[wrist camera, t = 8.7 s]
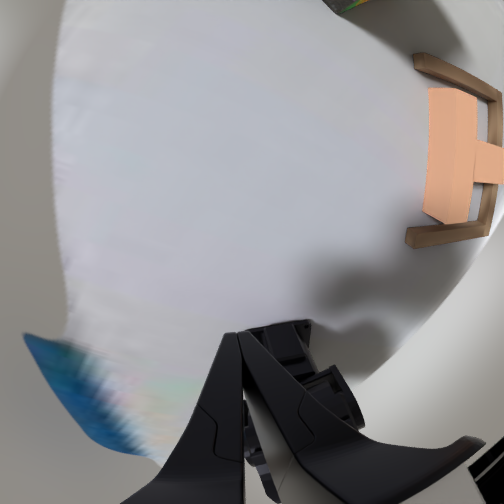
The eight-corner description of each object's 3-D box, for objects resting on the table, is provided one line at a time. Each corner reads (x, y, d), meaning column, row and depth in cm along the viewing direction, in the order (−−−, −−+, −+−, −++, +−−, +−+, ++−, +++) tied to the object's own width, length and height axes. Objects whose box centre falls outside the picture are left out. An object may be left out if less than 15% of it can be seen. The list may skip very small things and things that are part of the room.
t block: (476, 208, 24) (497, 218, 21) (421, 211, 23) (446, 224, 19) (484, 109, 18) (507, 113, 15) (428, 87, 17) (455, 88, 14)
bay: (480, 230, 25) (488, 235, 24) (404, 242, 24) (413, 248, 22) (492, 91, 17) (501, 92, 16) (413, 54, 16) (424, 52, 14)
